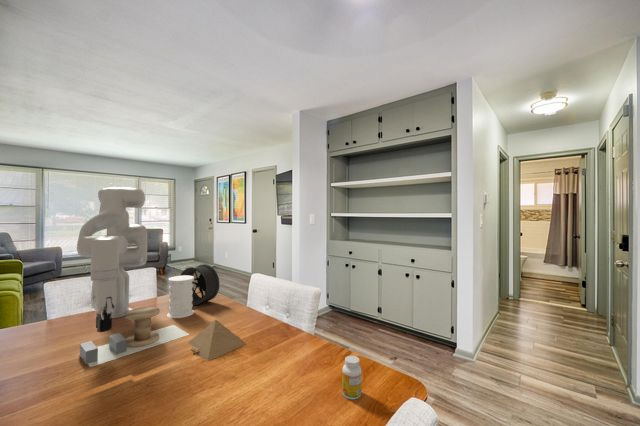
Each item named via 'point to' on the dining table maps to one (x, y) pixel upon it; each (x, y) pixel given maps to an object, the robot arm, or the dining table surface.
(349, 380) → the supplement bottle
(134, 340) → the bobbin
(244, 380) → the dining table surface
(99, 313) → the plug
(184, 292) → the decorative container
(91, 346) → the terminal block
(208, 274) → the wheel rim
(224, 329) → the model pyramid
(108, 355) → the base board
